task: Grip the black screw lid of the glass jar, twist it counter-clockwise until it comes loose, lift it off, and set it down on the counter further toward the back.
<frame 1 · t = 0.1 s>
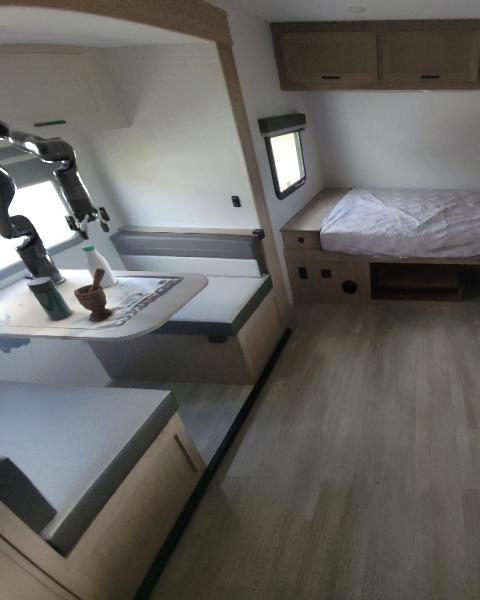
hand: (96, 235, 138), 29 cm above the table, tool pointing down, fingers open, 8 cm apart
mortar and pestle: (106, 314, 141), on the table
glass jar: (61, 315, 139), on the table
milk bottle: (107, 284, 162), on the table
lid: (39, 282, 130), point 16 cm above the table, screwed on, not yet turned
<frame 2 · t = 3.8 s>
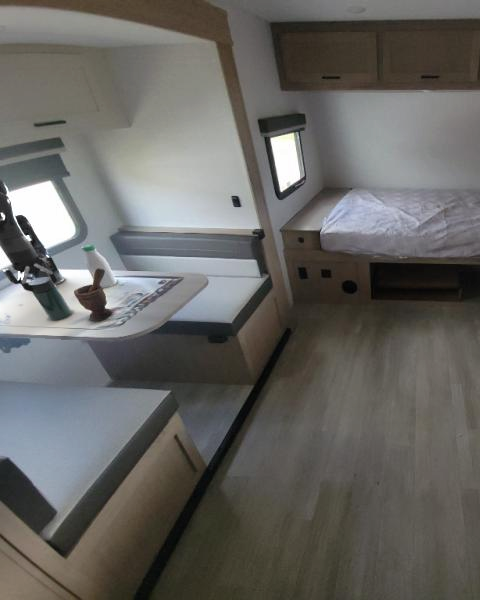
hand: (42, 286, 131), 14 cm above the table, tool pointing down, fingers closed on lid, 7 cm apart
lid: (39, 282, 130), point 16 cm above the table, screwed on, not yet turned, touching gripper
everything else where it was.
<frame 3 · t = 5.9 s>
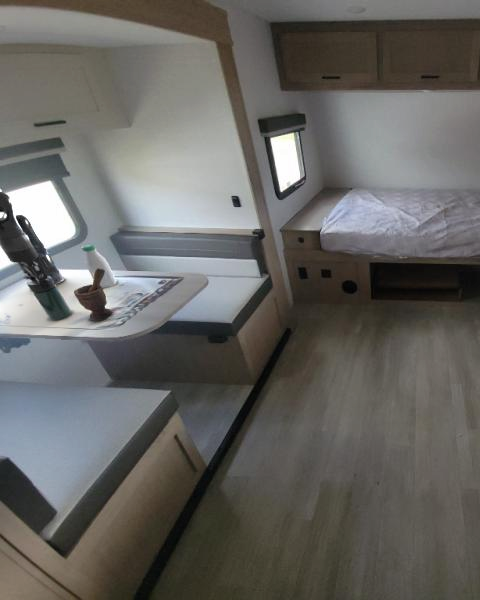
hand: (42, 285, 131), 14 cm above the table, tool pointing down, fingers closed on lid, 7 cm apart
lid: (39, 281, 130), point 16 cm above the table, turned 86° so far, risen 0.2 cm, still on its thread, touching gripper
everything else where it was.
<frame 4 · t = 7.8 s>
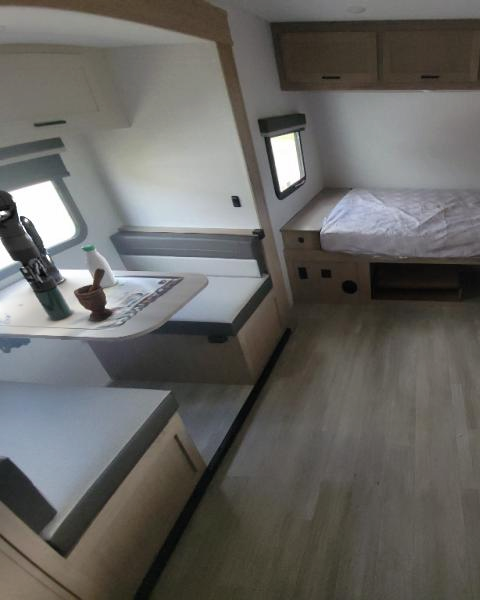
hand: (44, 285, 131), 15 cm above the table, tool pointing down, fingers closed on lid, 7 cm apart
lid: (41, 280, 130), point 17 cm above the table, off its thread, touching gripper
everything else where it was.
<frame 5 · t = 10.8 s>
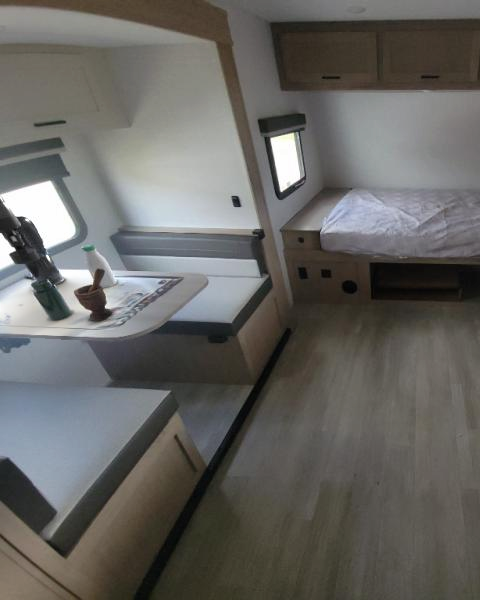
hand: (25, 257, 125), 26 cm above the table, tool pointing down, fingers closed on lid, 7 cm apart
lid: (22, 253, 124), point 28 cm above the table, off its thread, touching gripper
everything else where it was.
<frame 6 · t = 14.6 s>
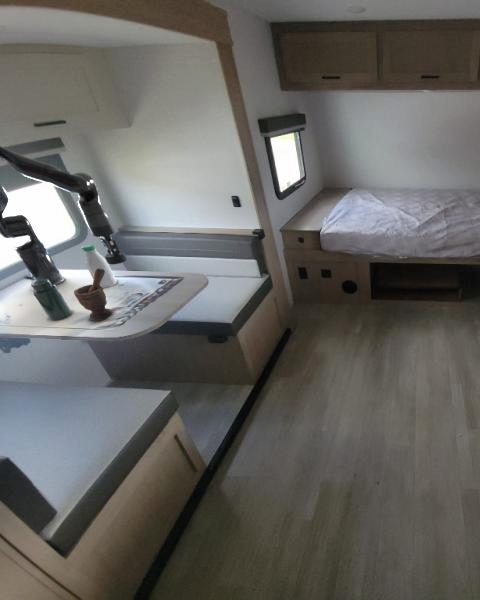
hand: (116, 259, 148), 17 cm above the table, tool pointing down, fingers closed on lid, 7 cm apart
lid: (114, 255, 147), point 19 cm above the table, off its thread, touching gripper
everything else where it was.
when the fingers open (1 cm above the table, at t = 18.0 s): lid stays where it is, point 3 cm above the table.
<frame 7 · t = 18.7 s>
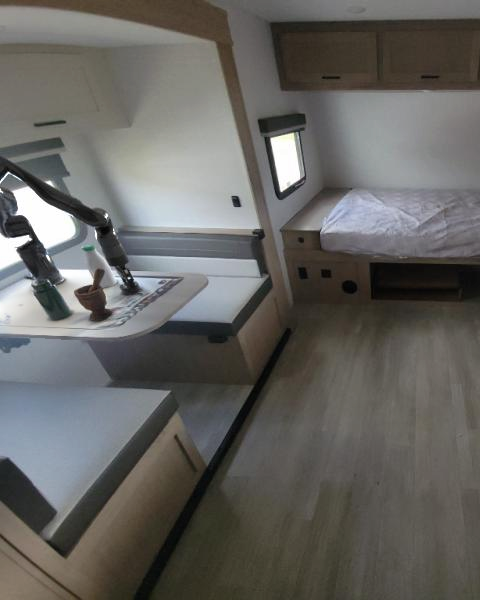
hand: (129, 285, 155), 3 cm above the table, tool pointing down, fingers open, 8 cm apart
lid: (129, 285, 155), point 3 cm above the table, off its thread
everything else where it was.
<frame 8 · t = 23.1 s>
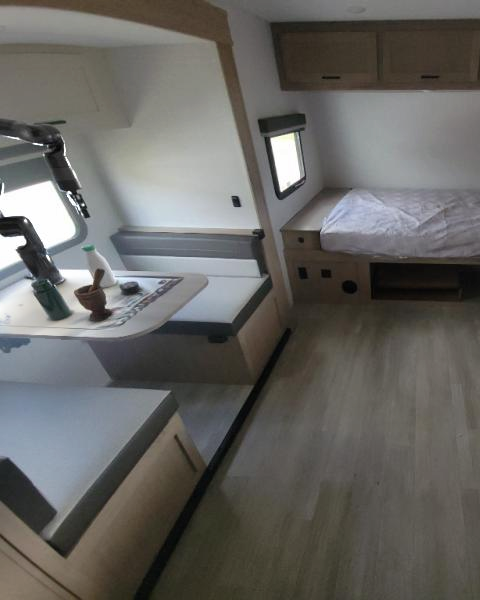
hand: (84, 215, 147), 33 cm above the table, tool pointing down, fingers open, 8 cm apart
nothing on the table moved.
at the end: lid inside the target area (0.2 cm from its centre), point 2.9 cm above the table; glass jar tilted 0°; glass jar moved 0.0 cm from its start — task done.
